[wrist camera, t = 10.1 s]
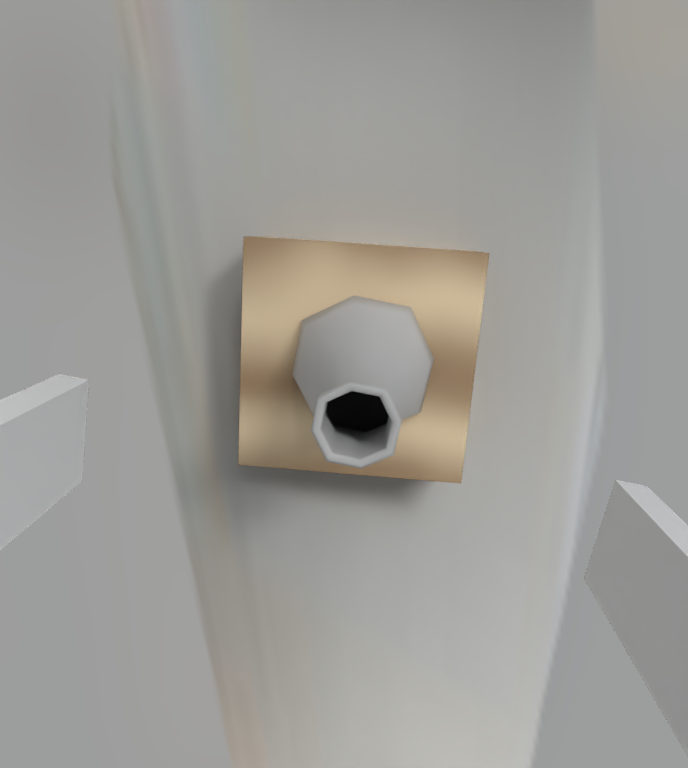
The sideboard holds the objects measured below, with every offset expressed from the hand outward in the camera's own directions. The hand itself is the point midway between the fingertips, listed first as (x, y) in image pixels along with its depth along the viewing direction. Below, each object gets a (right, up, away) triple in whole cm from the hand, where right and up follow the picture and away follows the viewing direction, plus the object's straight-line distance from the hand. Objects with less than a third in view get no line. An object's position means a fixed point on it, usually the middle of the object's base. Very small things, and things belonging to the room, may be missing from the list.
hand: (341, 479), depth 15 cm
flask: (+1, +3, +16) cm, 16 cm away
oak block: (+1, +5, +21) cm, 21 cm away
